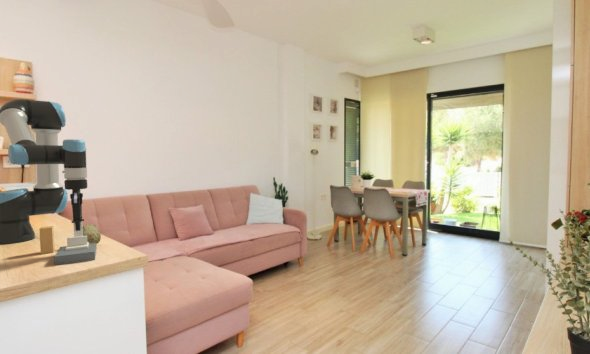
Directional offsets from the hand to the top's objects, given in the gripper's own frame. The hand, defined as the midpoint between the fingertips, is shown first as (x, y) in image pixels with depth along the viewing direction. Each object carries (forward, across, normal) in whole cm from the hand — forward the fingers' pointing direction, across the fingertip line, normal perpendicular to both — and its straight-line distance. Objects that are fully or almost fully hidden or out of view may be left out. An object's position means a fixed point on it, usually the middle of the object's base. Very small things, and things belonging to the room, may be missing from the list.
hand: (78, 238), depth 133 cm
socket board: (+6, +8, 0) cm, 10 cm away
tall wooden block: (+6, -7, -11) cm, 14 cm away
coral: (+6, -10, +2) cm, 11 cm away
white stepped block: (+3, +5, 0) cm, 5 cm away
